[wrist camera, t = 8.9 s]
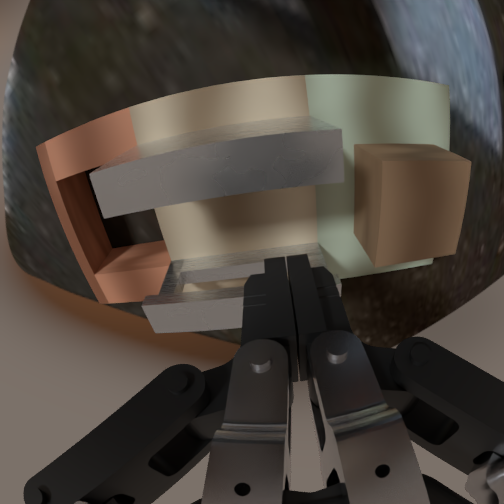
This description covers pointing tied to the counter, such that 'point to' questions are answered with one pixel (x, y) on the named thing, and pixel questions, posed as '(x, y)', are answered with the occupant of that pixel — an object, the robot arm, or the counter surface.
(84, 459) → the robot arm
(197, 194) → the tunnel
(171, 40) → the counter surface
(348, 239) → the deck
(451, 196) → the walnut block
